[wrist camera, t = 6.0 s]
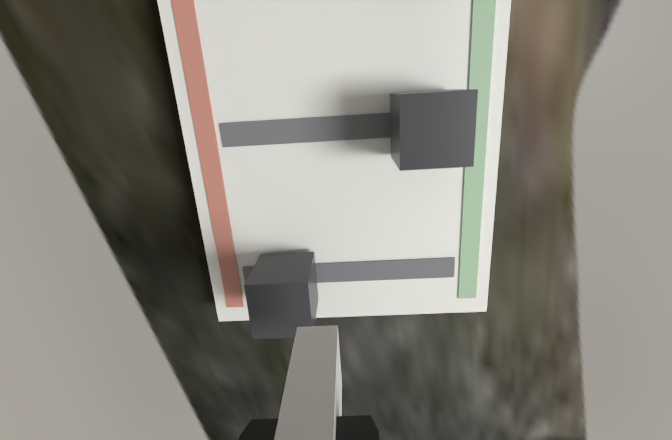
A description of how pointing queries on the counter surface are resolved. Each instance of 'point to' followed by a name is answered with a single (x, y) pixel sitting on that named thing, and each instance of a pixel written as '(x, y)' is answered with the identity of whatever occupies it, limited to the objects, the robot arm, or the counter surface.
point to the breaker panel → (338, 145)
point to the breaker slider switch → (282, 294)
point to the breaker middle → (433, 128)
